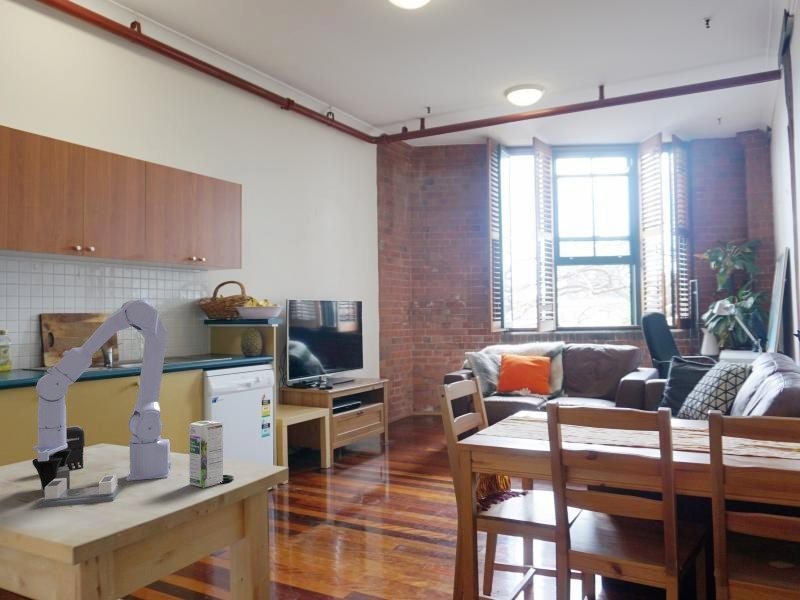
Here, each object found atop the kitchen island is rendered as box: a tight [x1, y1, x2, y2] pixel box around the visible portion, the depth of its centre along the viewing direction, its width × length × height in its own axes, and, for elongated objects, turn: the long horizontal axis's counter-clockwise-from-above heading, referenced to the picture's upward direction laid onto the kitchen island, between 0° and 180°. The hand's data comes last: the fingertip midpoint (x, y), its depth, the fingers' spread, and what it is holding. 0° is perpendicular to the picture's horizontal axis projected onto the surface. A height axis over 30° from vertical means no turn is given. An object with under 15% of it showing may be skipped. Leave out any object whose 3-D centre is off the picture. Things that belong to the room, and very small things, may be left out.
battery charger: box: [65, 425, 86, 472], centre depth 157 cm, size 7×4×11 cm, turn 131°
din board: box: [40, 484, 122, 508], centre depth 133 cm, size 14×9×2 cm, turn 105°
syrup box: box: [188, 420, 224, 489], centre depth 143 cm, size 6×6×14 cm
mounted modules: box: [44, 473, 119, 499], centre depth 133 cm, size 13×7×3 cm, turn 105°
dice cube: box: [40, 466, 71, 496], centre depth 139 cm, size 5×5×5 cm
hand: (52, 485), depth 138 cm, fingers closed on dice cube, 5 cm apart
